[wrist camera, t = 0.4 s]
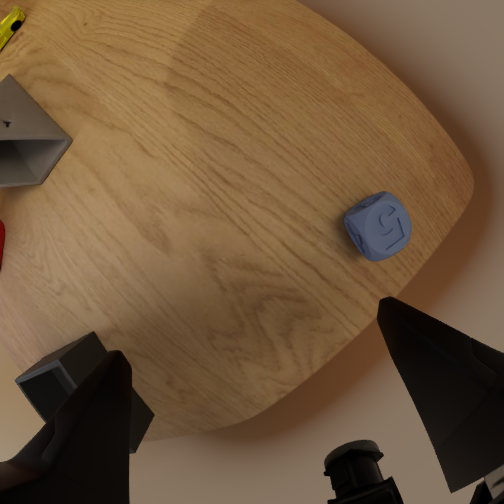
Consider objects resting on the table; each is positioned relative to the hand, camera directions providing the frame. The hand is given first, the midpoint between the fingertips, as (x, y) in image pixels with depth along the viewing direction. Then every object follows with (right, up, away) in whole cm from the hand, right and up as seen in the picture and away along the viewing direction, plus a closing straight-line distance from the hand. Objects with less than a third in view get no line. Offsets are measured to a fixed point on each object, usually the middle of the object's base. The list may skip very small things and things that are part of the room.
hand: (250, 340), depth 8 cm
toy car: (-43, +39, +10) cm, 59 cm away
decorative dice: (+10, +5, +13) cm, 17 cm away
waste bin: (-19, -13, +17) cm, 29 cm away
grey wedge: (-29, +17, +13) cm, 36 cm away
